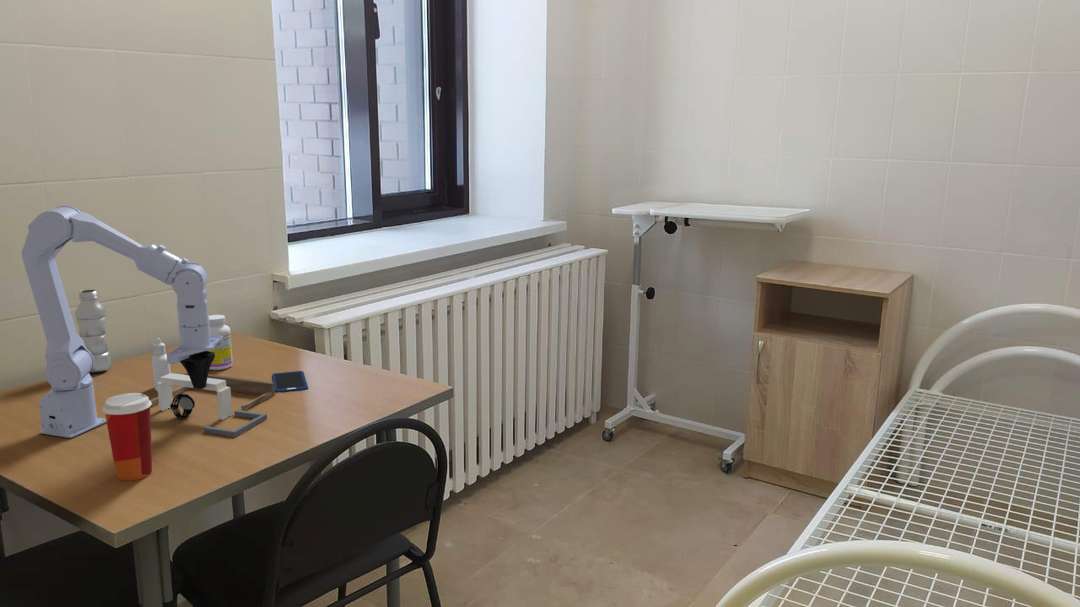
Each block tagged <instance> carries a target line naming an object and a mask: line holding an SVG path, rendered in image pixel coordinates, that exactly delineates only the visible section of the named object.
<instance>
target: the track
mask: <svg viewBox="0 0 1080 607" xmlns="http://www.w3.org/2000/svg"><path fill="white" fill-rule="evenodd" d="M207 378H213V379H220V380H226V387H230V390H231V392H236V393H242V394H243V393H244V394H250V395H258V396H257V397H256V398H254V399H252V400H250V401H248V402H246V403H245V404H242V405H241V406H240V408H241V409H240V410H241V411H248V410H250V409H252V408H254V407H255V406H257V405H259V404H261V403H263V402H265V401H267V400H268V399H271V398H272V397H274V396H275V393H276V392H275V389H274V382H273V381H265V380H256V379H249V378H242V377H232V376H226V375H219V374H212V373H211V374H210V373H208V377H207ZM189 389H190V390H192V389H191V388H190V387H183V386H179V387H177V388H175V389H174V390H173V389H172V395H173V398H175V396H176V395H178V394H180V393H181V394H184V393H185V392H187V390H188V391H190V390H189ZM150 401H151V402H152V405H151V406H153V405H155V406H157V405H159V404H158V403H159V399H158V396H157V397H155V398H152V399H151V400H150ZM156 404H157V405H156ZM151 406H150V408H152V407H151ZM153 407H154V406H153Z"/></svg>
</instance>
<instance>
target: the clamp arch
mask: <svg viewBox="0 0 1080 607" xmlns="http://www.w3.org/2000/svg"><path fill="white" fill-rule="evenodd" d="M160 380H161V382H158V383H157V388H158V391H157V395H158V396H157V397H158V399H159V404H158V406H159V411H160V410H161V411H160V412H165V411H167V410H169V409H171V407H170V404H172V401H173V399H174V397H173V395H172V391H173V387H172V386H177V387H182V386H183V387H190V388H192V389H195V388H194V387H193V385H192V382H191V379H190V377H189V375H187V374H183V373H182V374H181V373H173V372H171V373H169V374H167V375H165V376H162V377H160ZM202 390H207V391H212V392H213V391H214V392H216V396H217V397H216V398H217V410H218V420H222V421H224V420H226V419H227V418H229V416H230V417H232V416H233V406H232V405H233V404H232V394H231V393H232V391H231V390H230V387H226V380H220V379H213V378H207V382H206V387H205V388H203V389H202ZM168 408H169V409H168ZM166 409H167V410H166ZM164 410H165V411H164Z"/></svg>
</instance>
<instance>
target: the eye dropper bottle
mask: <svg viewBox="0 0 1080 607" xmlns="http://www.w3.org/2000/svg"><path fill="white" fill-rule="evenodd" d="M153 353H154V354H152V357H151V365H152V366H151V367H152V374H153V383H154V390H155V391H156V392H158V388H157V383H158V382H161V380H160V377H162V376H165V375H167V374H169V373H172V372H171V364H168V363H167V355H166V354H167V352H166V344H165V343H164V342H162V340H161V338H160V337H158V338H156V343H154V344H153Z"/></svg>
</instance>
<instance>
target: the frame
mask: <svg viewBox="0 0 1080 607" xmlns="http://www.w3.org/2000/svg"><path fill="white" fill-rule="evenodd" d="M233 415H234V416H235V417H239V418H241V417H242V418H248V419H251V420H250V421H247V423H245V424H243V425H241V426H239V427H238V428H236V429H228V428H227V429H226V428H222V427H214V426H207V425H206V426H204V427H203V428H202V429H203V433H206V434H213V435H217V436H218V435H219V436H226V437H232V438H236V437H238V436H240V435H242V434H244V433H245V432H246V431H248V430H251V429H252V428H254V427H255V426H257V425H259V424H260V423H262V422H264V421H266V420H267V419H268V414H267V413H260V412H254V411H248V410H246V411H242V410H241V409H240V410H239V409H238V410H237V409H236V410H234V412H233Z"/></svg>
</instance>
